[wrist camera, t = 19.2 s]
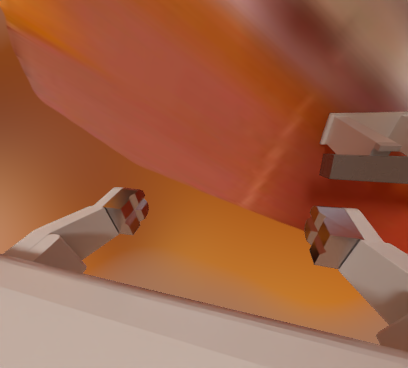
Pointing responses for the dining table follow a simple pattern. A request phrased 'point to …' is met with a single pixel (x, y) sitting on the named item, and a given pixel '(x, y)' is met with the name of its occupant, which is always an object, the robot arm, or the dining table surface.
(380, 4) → the dining table surface
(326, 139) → the rack
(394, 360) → the robot arm
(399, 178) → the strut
